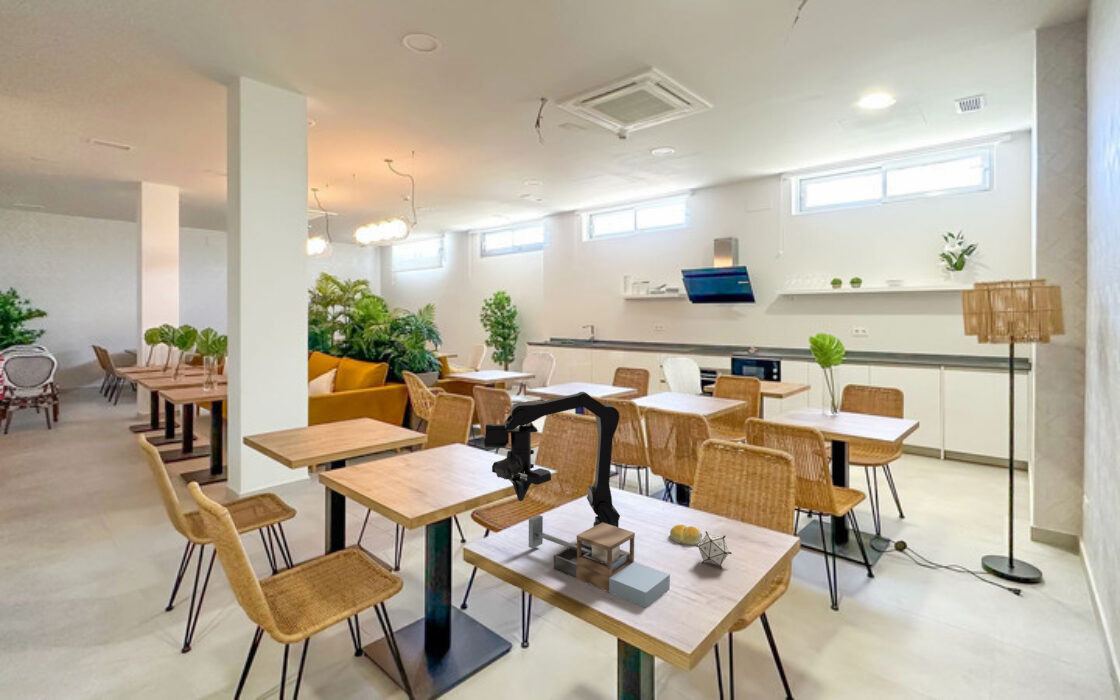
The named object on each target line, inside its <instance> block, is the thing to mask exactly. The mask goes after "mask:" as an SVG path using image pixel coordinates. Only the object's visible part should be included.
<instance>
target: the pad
mask: <svg viewBox="0 0 1120 700" xmlns="http://www.w3.org/2000/svg"><path fill="white" fill-rule="evenodd" d="M670 578H671V574H670V573H667V572H665V571H662V570H659V569H655V568H652V567H650V566H648V565H645V564H641V563H639V562H637V561H634V562H633V563H631V564H630V565H628V566H627V567H625V568H624V569H622V570H621V571H619V572H618V573H616V574H615V575H613V576H612V577H610V578H609V592H608V593H610V594H611V595H615V596H617V597H619V598H622V599H624V600H627V601H629V602H631V603H633V604H636V605H638V606H641V607H643V608H648V606H650V605H651V604H652V603H654V602H655V601H656V600H657V599H658V598H660V597H661V596H662V595H663V594H665V593H666V592H667V591H668V590H670V587H671V586H670V585H671V584H670V583H671V581H670V580H671V579H670Z"/></svg>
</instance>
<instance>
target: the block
mask: <svg viewBox="0 0 1120 700" xmlns="http://www.w3.org/2000/svg"><path fill="white" fill-rule="evenodd" d="M591 546H592V558H594V559H596V560H599V561H602V562H604V563H607V550H605V549H602V548H599V547H597V546H594V545H591ZM620 546H621V545H619V546H618V547H616V548H614V549H613V550H612V562H614V561H615V560H617V559H619V558H620V548H621V547H620Z"/></svg>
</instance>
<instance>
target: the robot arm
mask: <svg viewBox="0 0 1120 700" xmlns="http://www.w3.org/2000/svg"><path fill="white" fill-rule="evenodd" d="M579 408H584V409H586V410H587V411H589V412H590V413H592V414H594V416H595V425H596V430H597V434H598V436H597V448H596V449H597V450H596V463H595V475H594V476H595V477H594V482H593V484H592V485H587V492H588V493H587V496H586V499H587V501H588V504H589V506H590V507H591V509H592V511H593V512H594V514H595V515H596V516H594V522H593V527H594V526H596V525H598V524H600V523H602V522H603V523H606V524H609V525H612V526H616V527H619V525H620V524H619V522H620V518H621V515H620V513H619V512H618V511H617V509H616V508H615V506H614V505H613V499H612V491H611V486H610V480H611V479H610V477H611V466H612V453H613V439H614V436H615V433H616V431H617V429H618V425H619V422H620V412H619V410H618V409H617V408H615V407H614V406H613V405H611V404H609V403H602V402H600V401H598V400H597V399H596V398H594V397H592V396H591V395H590V394H589V393H588V392H585V391H579V392H578V393H574V394H569V395H565V396H560V397H556V398H552V399H551V398H550V399H548V400H543V401H520V402H516V403H514V404H513V405H512V406H511V408H510V414H509V415H508V417H507V418H506V419H505V421H504V422H503V423H502V424H499V423H498V424H497V423H496V424H495V423H494V424H493V423H485V433H484V449H504V448H505V447H507V445H509V444H510V450H507V453H506V458H504V459H502V460H498V461H494V462H493V464H492V466H491V468H492V469H491V473H494V474H496V477H497V478H502V479H504V480H508V481H510V482H511V484H512V486H513V488H514V492H515V494H516V497H517V499H518V501H519V502H523V501H524V499H525V497H526V495H527V493H528V491H529V488H530V487H531V485H535V486H536V485H541V484H544V483H547V482H550V481H551V480H552V472H550V470H548V469H545V468H540V467H539V468H537V469H534V467H535V466H534V465H535V464H534V463H532V457H531V455H533V454H534V452H535V450H534V449H532V445H531V443H532V437H531V436H532V433H537V432H538V431H539V430H538V428H537V426H535V425H534V424H533V423H534V422H536V421H537V420H538V419H541V418H542V417H546V416H549V415H553V414H557V413H562V412H566V411H567V412H568V411H571V410H574V409H579ZM509 433H510V434H509ZM509 435H510V441H509ZM532 469H533V470H532Z"/></svg>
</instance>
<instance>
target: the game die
mask: <svg viewBox="0 0 1120 700" xmlns="http://www.w3.org/2000/svg"><path fill="white" fill-rule="evenodd" d="M705 534H706V535H705V536H704V538H703V539H701V541H700V542H699V543H698V544H696V545H694V546H695V547H696V548H698V550H699V553H700V555H701V558H702V561H701V564H702V565H703V564H705V563H708V564H712V565H716V566H719V568H720V569H723V566H722V564H723V563H724V561H725V560H726V558H727V557H728V556H729V555H732V554H733V552H731V551H729V548H728V546H727V543H726V540H725V539H726V534H725V535H723V536H717V535H714V534H709V532H708V531H707V530H705Z"/></svg>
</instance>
